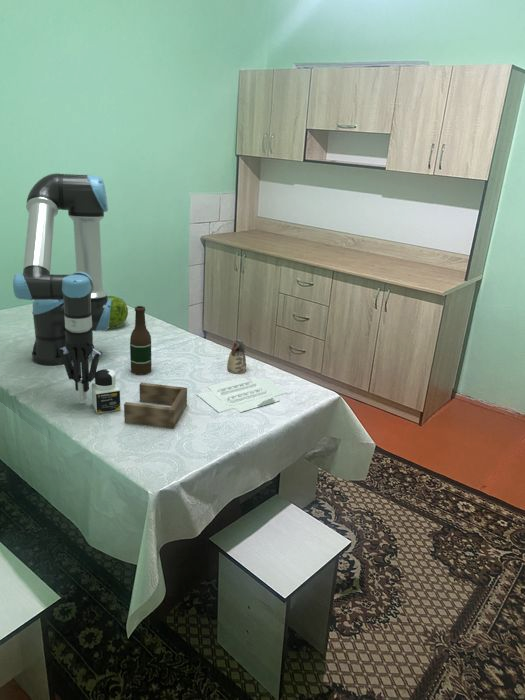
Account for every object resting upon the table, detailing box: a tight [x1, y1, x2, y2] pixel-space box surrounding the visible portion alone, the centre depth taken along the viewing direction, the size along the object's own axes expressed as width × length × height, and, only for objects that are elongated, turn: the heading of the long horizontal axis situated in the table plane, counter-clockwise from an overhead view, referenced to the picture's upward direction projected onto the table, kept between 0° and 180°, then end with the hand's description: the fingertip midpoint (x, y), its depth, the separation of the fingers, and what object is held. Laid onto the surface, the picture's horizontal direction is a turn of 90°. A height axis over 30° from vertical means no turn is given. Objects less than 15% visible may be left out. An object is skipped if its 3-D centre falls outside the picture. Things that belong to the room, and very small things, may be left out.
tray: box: [196, 377, 288, 414], centre depth 179 cm, size 20×28×4 cm
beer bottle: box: [129, 305, 152, 376], centre depth 186 cm, size 8×8×24 cm
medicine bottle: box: [91, 368, 121, 415], centre depth 163 cm, size 7×7×12 cm
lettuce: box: [107, 295, 129, 328], centre depth 232 cm, size 14×23×13 cm, turn 34°
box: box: [123, 382, 188, 429], centre depth 163 cm, size 15×15×6 cm
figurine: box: [226, 339, 247, 375], centre depth 195 cm, size 7×7×12 cm
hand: (83, 400), depth 165 cm, fingers closed
